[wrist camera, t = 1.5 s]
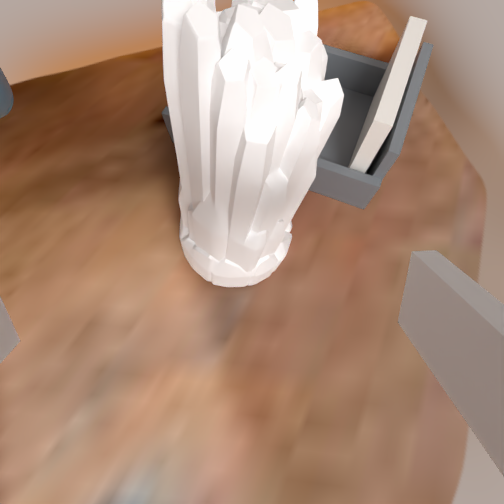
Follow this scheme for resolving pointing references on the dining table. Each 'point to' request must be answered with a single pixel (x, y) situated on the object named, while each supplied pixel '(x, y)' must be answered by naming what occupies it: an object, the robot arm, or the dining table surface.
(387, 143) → the grey tray
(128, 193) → the dining table surface
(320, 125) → the decorative vase
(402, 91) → the plate
